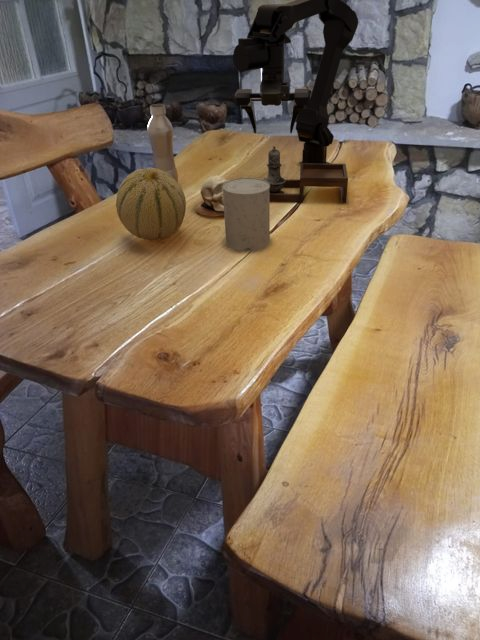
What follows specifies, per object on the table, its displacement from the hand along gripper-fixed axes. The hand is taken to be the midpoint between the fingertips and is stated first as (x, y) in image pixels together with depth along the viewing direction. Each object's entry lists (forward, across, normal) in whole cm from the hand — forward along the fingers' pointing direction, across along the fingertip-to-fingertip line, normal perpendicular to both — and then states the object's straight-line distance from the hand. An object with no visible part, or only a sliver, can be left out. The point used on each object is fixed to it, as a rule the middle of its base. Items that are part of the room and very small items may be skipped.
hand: (273, 132), depth 142 cm
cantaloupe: (+12, -24, -38) cm, 47 cm away
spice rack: (+12, +7, -12) cm, 18 cm away
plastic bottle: (+12, -28, -7) cm, 31 cm away
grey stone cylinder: (+12, -3, -40) cm, 42 cm away
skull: (+12, -12, -22) cm, 28 cm away
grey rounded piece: (+12, +1, -12) cm, 17 cm away
